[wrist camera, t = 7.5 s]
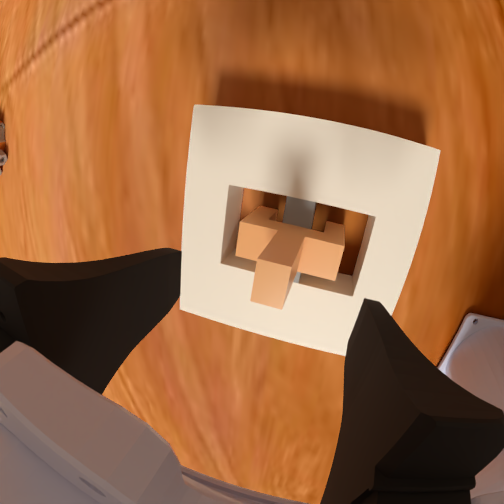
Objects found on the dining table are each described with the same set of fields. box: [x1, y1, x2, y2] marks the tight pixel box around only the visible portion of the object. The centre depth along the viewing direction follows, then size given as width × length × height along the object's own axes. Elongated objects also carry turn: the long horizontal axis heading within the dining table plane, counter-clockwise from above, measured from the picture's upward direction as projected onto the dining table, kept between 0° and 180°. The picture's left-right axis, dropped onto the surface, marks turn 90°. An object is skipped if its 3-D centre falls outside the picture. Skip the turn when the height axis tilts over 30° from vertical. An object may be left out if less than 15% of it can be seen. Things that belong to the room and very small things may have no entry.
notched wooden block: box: [235, 206, 345, 310], centre depth 16 cm, size 6×2×8 cm, turn 81°
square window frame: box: [180, 105, 440, 356], centre depth 18 cm, size 14×14×3 cm
